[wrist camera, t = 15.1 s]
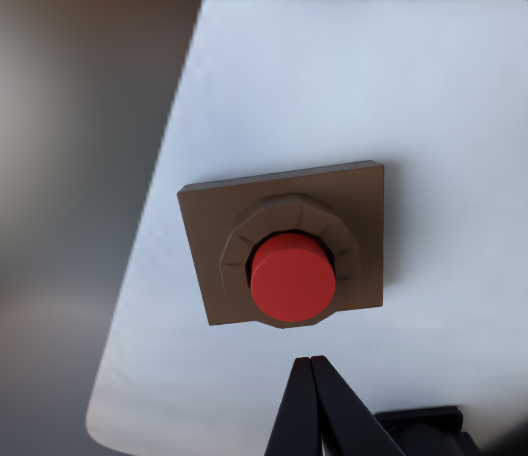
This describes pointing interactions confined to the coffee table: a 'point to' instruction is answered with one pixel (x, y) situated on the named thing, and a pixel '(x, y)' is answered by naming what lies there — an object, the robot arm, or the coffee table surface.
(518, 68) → the coffee table surface
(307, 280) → the power button
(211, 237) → the power button base
